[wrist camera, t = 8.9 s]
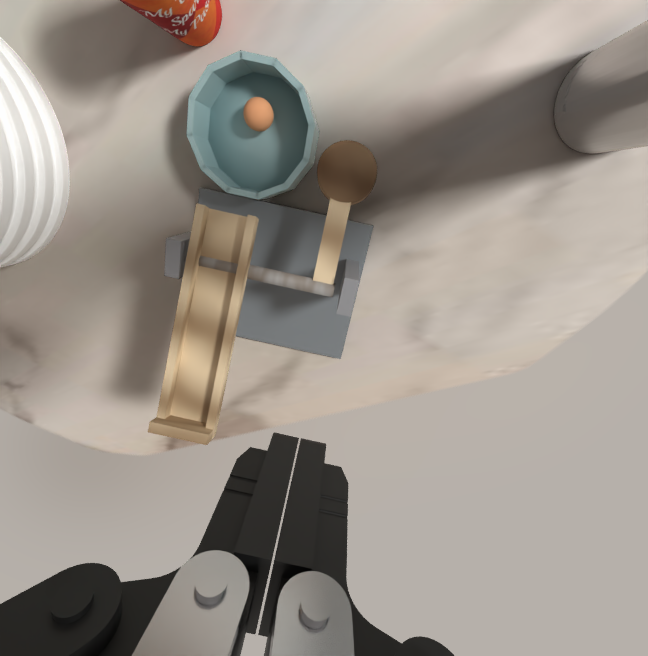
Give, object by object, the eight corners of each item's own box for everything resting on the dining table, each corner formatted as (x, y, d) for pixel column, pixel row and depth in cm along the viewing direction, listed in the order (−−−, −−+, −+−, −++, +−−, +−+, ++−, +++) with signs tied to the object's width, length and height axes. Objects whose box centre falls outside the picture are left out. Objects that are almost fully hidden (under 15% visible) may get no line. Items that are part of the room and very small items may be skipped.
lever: (222, 118, 35) (210, 96, 31) (381, 153, 35) (387, 135, 31) (165, 418, 37) (147, 432, 33) (314, 451, 37) (312, 468, 33)
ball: (275, 130, 38) (277, 97, 36) (268, 137, 36) (270, 103, 34) (248, 124, 38) (248, 91, 36) (239, 131, 36) (239, 96, 34)
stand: (202, 187, 41) (155, 187, 32) (373, 225, 41) (378, 236, 32) (192, 323, 48) (150, 357, 38) (340, 356, 48) (337, 399, 38)
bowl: (328, 82, 37) (324, 68, 32) (306, 206, 41) (300, 209, 37) (210, 56, 37) (191, 39, 32) (201, 183, 41) (183, 183, 37)
